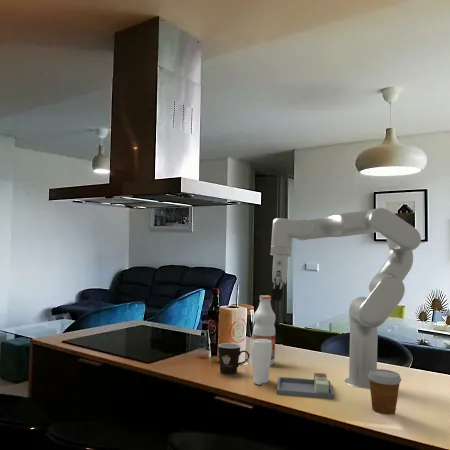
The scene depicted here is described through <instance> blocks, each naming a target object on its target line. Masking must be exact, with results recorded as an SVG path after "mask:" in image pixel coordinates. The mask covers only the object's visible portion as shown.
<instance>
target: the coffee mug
mask: <svg viewBox="0 0 450 450" xmlns="http://www.w3.org/2000/svg"><path fill="white" fill-rule="evenodd" d="M217 347H218V358H219V359H218V360H219V363H218V364H219V372H220V373H221V374H223V375H235V374H237V373H238V367H240V365H243V364H244V363H246V362H247V361H249V359H250V353H249V351H247V350H245V349H244V350H243V349H242V350H241V347H242V346H241V345H240V344H237V343H232V342H231V343H230V342H225V343H220V344H218V346H217ZM242 353H246V354H247V358H246V359H245V360H244V361H242V362H240V363H239V360H240V356H241V354H242Z"/></svg>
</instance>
